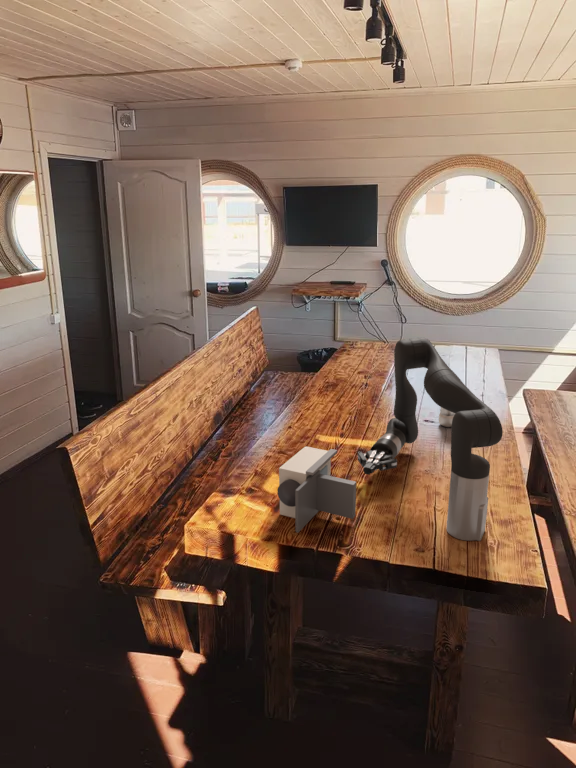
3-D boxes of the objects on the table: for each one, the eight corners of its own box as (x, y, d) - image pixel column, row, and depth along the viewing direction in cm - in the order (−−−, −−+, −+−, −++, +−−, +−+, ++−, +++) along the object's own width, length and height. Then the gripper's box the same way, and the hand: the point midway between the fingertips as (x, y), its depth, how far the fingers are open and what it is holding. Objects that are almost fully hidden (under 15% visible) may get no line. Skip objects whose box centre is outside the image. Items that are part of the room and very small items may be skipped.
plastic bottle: (455, 429, 224) (460, 377, 217) (437, 427, 226) (440, 376, 219) (457, 423, 229) (461, 372, 223) (438, 421, 231) (442, 371, 225)
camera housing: (336, 497, 176) (337, 450, 172) (309, 526, 161) (309, 475, 157) (305, 489, 181) (305, 443, 176) (276, 517, 166) (275, 468, 161)
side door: (355, 518, 163) (356, 478, 159) (335, 543, 152) (336, 500, 148) (317, 509, 168) (317, 469, 164) (295, 531, 157) (295, 490, 153)
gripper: (366, 434, 192) (345, 455, 178) (407, 441, 187) (389, 464, 172) (365, 455, 195) (345, 478, 180) (406, 463, 189) (388, 487, 174)
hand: (366, 471), depth 176 cm, fingers closed
